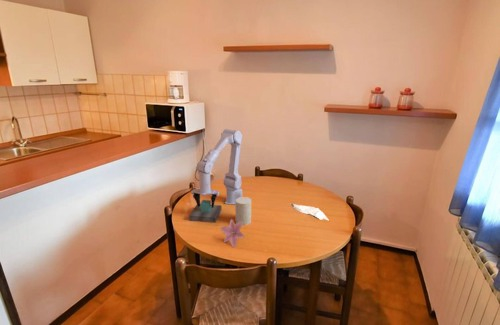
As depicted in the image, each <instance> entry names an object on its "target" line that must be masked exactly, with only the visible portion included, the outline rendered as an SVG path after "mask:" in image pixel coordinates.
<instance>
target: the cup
mask: <svg viewBox="0 0 500 325" xmlns="http://www.w3.org/2000/svg"><path fill="white" fill-rule="evenodd" d="M241 221H243V224H242V226H247V225H249V224H251V223H252V198H250V197H248V196H242V197H239V198H237V199H236V204H235V224H236V223H238V222H241Z"/></svg>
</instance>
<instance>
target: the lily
mask: <svg viewBox="0 0 500 325" xmlns="http://www.w3.org/2000/svg"><path fill="white" fill-rule="evenodd" d="M242 224H243V221H241V222H238V223H236V222H234V220H233V219H232V218H231V219H230V222H229V225H226V226H224V225H223V226H221V227H220V230H221V231H222V232H223V234H225V237H224V240H223V243H227V242H230V244H231V246H232V247H233V248H234V249H235V248H236V246H237V241H238V239H242V238H245V236H246V235H245V234H243V233H242V231H241V229H242V227H243V225H242Z"/></svg>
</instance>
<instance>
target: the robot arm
mask: <svg viewBox="0 0 500 325" xmlns="http://www.w3.org/2000/svg"><path fill="white" fill-rule="evenodd" d="M242 140H243V134H242V132H241V131H240V130H235V129H229V128H225V129H224V130H222V132H221V135H220V139H219V140H218V141H217V143H216V145H215V146H214V148H213V149H210V150H209V151H208V152H207V154H206V155H204V157H203V159H202V160H200V161H198V163H197V164H196V166H195V168H196V170H197V174H198V178H199V179H198V180H199V182H198V183H199V188H198V189H197V188H196V189H192V190H191V195H193V196H192V197H193V199H194V200H195V202H196V205H197V206H198V207H199V206H200V203H201V196H206V195H209V196H210V200H211V205H212V206H211V207H212V208H213V207H214V205H215V201H216V199H217V197H218V196H219V195H220V191H219V190H216V189H215V190H214V189H211V187H212V186H211V185H212V184H211V172H212V171H213V168H214V164H215V162H216V161H217V160H218V159H219V157H220V153H221V151H222V150H223V149H224V148H225V147H226V145H228V144H229V145H230V157H229V166H228V171H227V172H226V173H225V174H224V178H223V180H222V181H223V186H225V188H226V189H225V190H226V191H225V192H226V195H225V196H226V198H225V199H226V200H225V202H224V204H225V205H236V199H237V198H239V197H243V188H241V187H242V176H241V174H239V164H240V156H241V149H242Z"/></svg>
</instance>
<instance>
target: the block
mask: <svg viewBox="0 0 500 325" xmlns="http://www.w3.org/2000/svg"><path fill="white" fill-rule="evenodd" d="M200 205H201V212H209V211H210V210H211V205H212V202H211V199H202V201H200Z"/></svg>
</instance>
